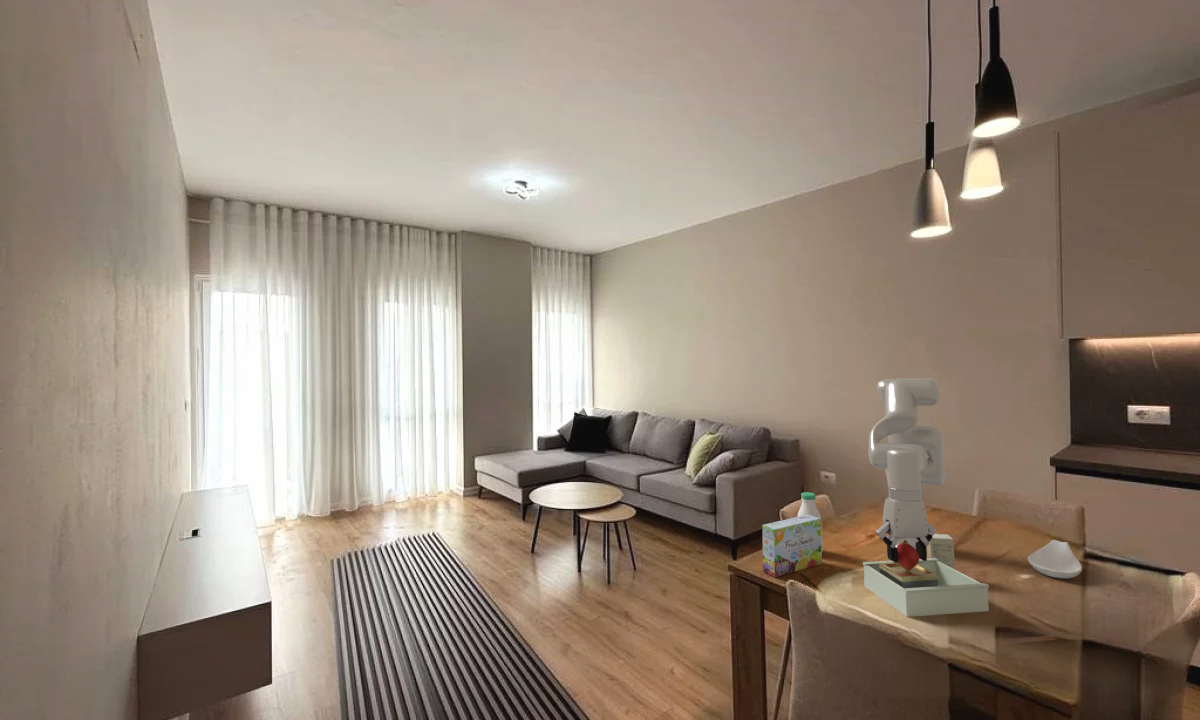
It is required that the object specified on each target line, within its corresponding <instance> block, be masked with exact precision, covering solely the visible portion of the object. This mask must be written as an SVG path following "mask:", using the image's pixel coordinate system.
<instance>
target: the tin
mask: <svg viewBox="0 0 1200 720" xmlns="http://www.w3.org/2000/svg"><path fill="white" fill-rule="evenodd" d="M879 568H880V573H881V574H882V575H884V576H885V577H887V578H888V579H890V580H891V581H893V582H895V583H896V584H898V585H899V586H901V587H902V588H904V589H905V588H920V587H935V586H938V574H936V573H934V572H932V571H931V570H929V569H927V568H925V567H923V566H922V565H920V564H917V565H916V566H915V567H913V568H912V569H911V570H909V571H908V570H905V569H904V568H903V567H902V566H900V565H899V564H898V563H895V562H887V563H879Z"/></svg>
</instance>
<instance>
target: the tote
mask: <svg viewBox="0 0 1200 720" xmlns="http://www.w3.org/2000/svg"><path fill="white" fill-rule="evenodd" d="M887 562H893V561H891V560H880V561H863V562H862V566H863V579H864V580H863V583H864V588H866V589H867V590H869V591H870V592H871V593H873V594H874V595H876V596H877V597H878V598H880V599H881V600H882V601H884V602H885V603H887V604H888V605H889V606H891V607H892V608H894V609H895V610H897V611H898V612H900V614H902V615H904V616H905V617H906V618H909V617H910V618H911V617H912V618H913V617H924V616H926V617H927V616H939V615H953V614H969V613H979V612H980V613H981V612H989V609H990V608H989V589H990V585H989V584H987V583H984V582H983V583H981V582H980V581H978V580H976V579H974V578H972V577H970V576H968V575H966V574H964V573H962V572H960V571H958V570H957V569H956V568H955V569H953V568H951V567H949V566H947V565H945V564H943V563H941V562H939V561H938V559H936V558H927V561H923V560H921V559H920V558H919V562H918V564H920V565H922V566H923V567H925V568H927V569H929V570H931V571H932V572H934V573H936V574H938V586H935V587H920V588H905V589H904V588H902V587H901V586H899V585H898V584H896V583H895V582H893V581H891V580H890V579H888V578H887V577H885V576H884V575H882V574H881V573H880V568H879V563H887Z"/></svg>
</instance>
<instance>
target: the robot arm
mask: <svg viewBox="0 0 1200 720" xmlns="http://www.w3.org/2000/svg"><path fill="white" fill-rule="evenodd" d="M876 391H877V395H878V397H879V399H880V401H881V403H882V405H883V407H884V410H885V411H884V413H885V414H884V415H885V416H884V417H882V418H880V419H879V420H878V421H877V422H876V423H875V424H874V426H872V428H871V430H870V432H869V436H868V450H867V451H868V461H869V463H870V464H871V465H872V466H873V467H874V468H876V469H883V470H884V471H885V477H886V481H887V489H888V497H886V498H885V501H884V504H883V510H882V511H883V513H882V525H881V526H879V528H877V529H876V530H875V533H876V535H877V536H878V537H879V538H880V540H881V541H882V542H883V543H884V545H886V552H887V553H886V554H887V559H888V560H889V561H893V562H895V563H898V549H897V548H896V547H897V546H898V545H899V544H901V543H902V542H903V541H904V540H906V541H907V543H908V544H909V545H911V546H912V547H913V548H914V549H915V550H916V551H917V552H918V555H919V559H921V560H923V561H927V546H928V545H929V542H930V540H931V539H932V538H933V537H932V536H933V535H934V534H936V532H937V529H936V528H935V526H932V525H931V524H930V523H929V522H928V514H927V511H926V506H925V502H924V500H923V499H922V495H924V494H925V490H924V489H923V488H922V485H924V486H941V485H943V484H944V482H945V480H946V467H945V466H946V465H945V464H946V463H945V449H944V448H945V446H944V445H945V444H944V437H943V433H942V431H941V430H940V428H938V427H936V426H933V425H917V424H918V422H919V413H918V406H921V407H922V406H923V407H924V406H925V407H926V406H928V407H929V406H931V407H933V406H937V405H938V404H939V403H940V400H941V388H940V385H939V382H938V381H937V380H936V379H935V378H933V377H932V378H930V377H929V378H928V377H925V378H924V377H922V378H921V377H920V378H919V377H918V378H913V377H912V378H911V377H909V378H907V377H906V378H905V377H904V378H902V377H899V378H897V377H896V378H885V379H882V380H878V382H877V384H876ZM885 438H888V442H881V441H882V440H883V439H885ZM886 534H887V535H886Z"/></svg>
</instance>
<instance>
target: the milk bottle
mask: <svg viewBox="0 0 1200 720" xmlns="http://www.w3.org/2000/svg"><path fill="white" fill-rule="evenodd" d="M800 494H801V505H800V508H799V510H798V513H797V517H799V516H804V515H811V516H814V517H817V518H821V519H822V516H821V513H820V511H819V509H818V507H817V505H816V500H817V499H816V497H817V496H816V494H815V493H814V492H807V491H804V492H802V493H800ZM822 525H823V523H821V553H824V552H823V551H824V549H823V547H824V546H823V530H822V529H823V528H822Z"/></svg>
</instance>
